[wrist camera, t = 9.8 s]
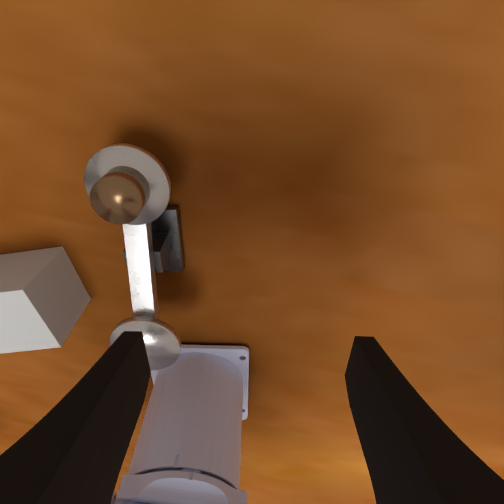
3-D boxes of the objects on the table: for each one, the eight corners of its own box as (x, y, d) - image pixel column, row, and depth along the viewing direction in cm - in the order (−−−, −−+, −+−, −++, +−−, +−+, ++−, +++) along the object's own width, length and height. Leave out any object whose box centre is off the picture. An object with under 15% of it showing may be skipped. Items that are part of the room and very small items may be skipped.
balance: (195, 314, 25) (182, 371, 20) (140, 312, 25) (117, 369, 20) (177, 130, 18) (152, 160, 13) (101, 129, 18) (52, 158, 13)
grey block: (91, 298, 24) (61, 347, 20) (33, 305, 25) (-8, 354, 21) (63, 245, 22) (22, 289, 18) (-1, 254, 22) (-54, 299, 18)
